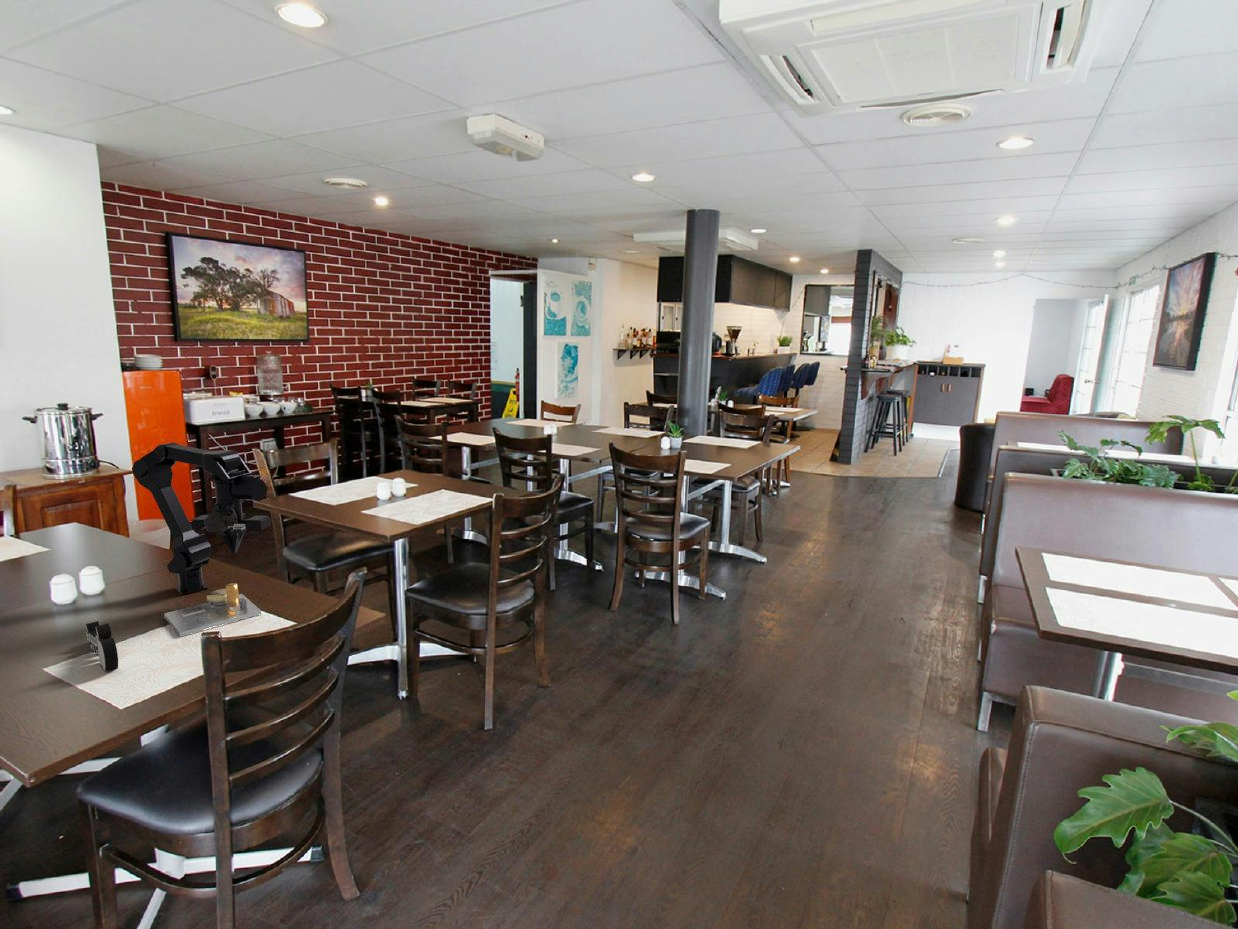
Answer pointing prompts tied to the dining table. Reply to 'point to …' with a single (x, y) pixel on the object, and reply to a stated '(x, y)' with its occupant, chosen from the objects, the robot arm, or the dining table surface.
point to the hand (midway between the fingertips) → (234, 552)
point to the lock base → (209, 615)
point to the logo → (103, 644)
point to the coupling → (225, 595)
